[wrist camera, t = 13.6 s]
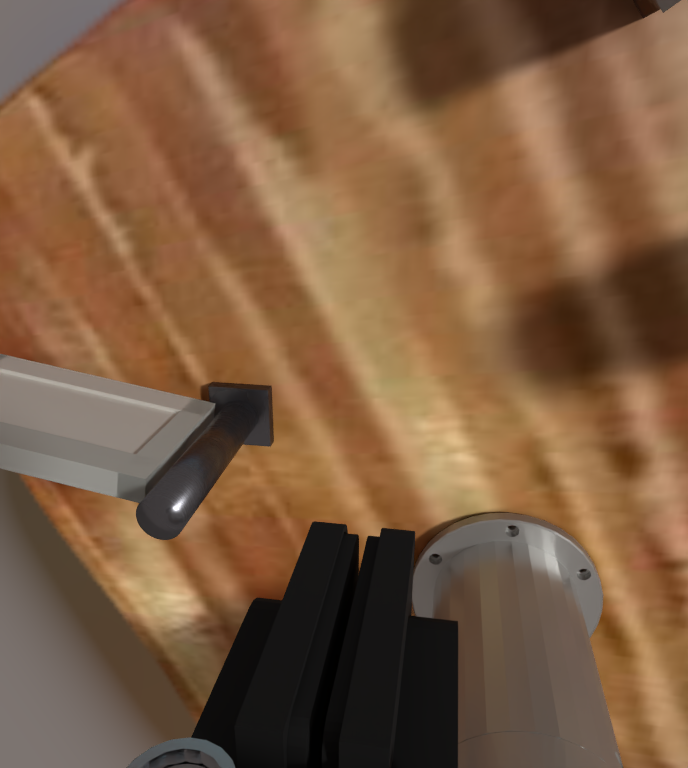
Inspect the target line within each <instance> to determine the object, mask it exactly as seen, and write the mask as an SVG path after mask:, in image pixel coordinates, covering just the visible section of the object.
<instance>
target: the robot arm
mask: <svg viewBox="0 0 688 768" xmlns="http://www.w3.org/2000/svg"><path fill="white" fill-rule="evenodd" d="M511 525H514V526H511ZM414 549H415V531H407V530H397V529H387V528H382V529H381V533H380V537H376V536H368V538H367V541H366V546H365V550H364V555H363V559H362V563H361V568H360V572H359V536H358V535H356V534H348V533H347V526H346V525H345V524H335V523H325V522H315V521H314V522H313V523H312V525H311V527H310V530H309V532H308V535H307V537H306V540H305V543H304V545H303V548H302V551H301V553H300V556H299V558H298V561H297V564H296V566H295V569H294V571H293V574H292V577H291V579H290V582H289V584H288V587H287V590H286V592H285V595H284V598H283V600H273V599H265V598H256V599H254V600H253V602H252V604H251V605H250V607H249V609H248V612H247V614H246V616H245V618H244V621H243V623H242V625H241V627H240V630H239V632H238V634H237V636H236V638H235V641H234V643H233V645H232V647H231V650H230V652H229V654H228V656H227V659H226V661H225V663H224V665H223V668H222V670H221V672H220V674H219V676H218V679H217V681H216V683H215V685H214V688H213V690H212V692H211V694H210V697H209V699H208V701H207V703H206V706H205V708H204V710H203V712H202V714H201V717H200V719H199V721H198V723H197V726H196V728H195V730H194V733H193V735H192V737H191V738H182V739H174V740H169V741H166V742H164V743H161V744H159V745H156V746H154V747H151V748H150V749H148V750H147V751H145V752H144V753H143V754H141V755H140V756H138V757H137V758H135V759H134V760H133V761H132V762H131V764H130V765H129V766H128V767H127V768H623V765H622V761H621V757H620V753H619V749H618V746H617V742H616V738H615V734H614V730H613V727H612V723H611V719H610V715H609V711H608V707H607V704H606V700H605V696H604V692H603V688H602V684H601V681H600V677H599V673H598V669H597V665H596V662H595V658H594V654H593V650H592V646H591V642H590V639H589V638H590V637H591V635H592V634H593V632H594V630H595V629H596V627H597V625H598V623H599V619H600V616H601V613H602V606H603V593H602V587H601V582H600V578H599V576H598V573H597V570H596V567H595V565H594V563H593V561H592V560H591V558H590V556H589V555H588V553H587V551H586V550H585V549H584V548H583V547H582V546H581V545H580V544H579V543H578V542H577V540H576V539H574V538H573V537H572V536H570V535H569V534H568V533H566V532H565V531H564V530H562V529H561V528H559V527H557V526H555V525H553V524H551V523H549V522H547V521H545V520H541V519H538V518H535V517H531V516H528V515H522V514H514V513H488V514H483V515H477V516H472V517H469V518H466V519H464V520H461V521H459V522H456V523H454V524H452V525H450V526H449V527H447V528H446V529H444V530H442V531H441V532H439V533H438V534H437V535H436V536H435V537H434V538H433V539H432V540H431V541H429V542H428V544H427V545H426V547H425V548H424V549H423V551H422V552H421V554H420V555H419V558H418V560H417V562H416V565H415V567H414ZM413 569H414V572H413ZM358 574H359V576H358ZM412 604H413V610H414V613H415V615H416V616H411V609H412Z"/></svg>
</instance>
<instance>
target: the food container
mask: <svg viewBox="0 0 688 768" xmlns="http://www.w3.org/2000/svg"><path fill="white" fill-rule="evenodd" d="M633 1H634V3H635V5H636V7H637V8H638V10H639V12H640V13H641V15H642V17H643V18H645V17H647V16H648V15H650V14H652V13H654V12H656V11H658V10H660V9H661V10H662V12H663V13H664V12H665V11H666V10H668V9H669V8H671V7H672V6H674V5H675V4H676V3H678V2H679V1H681V0H633Z"/></svg>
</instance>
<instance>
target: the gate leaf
mask: <svg viewBox="0 0 688 768" xmlns="http://www.w3.org/2000/svg"><path fill="white" fill-rule="evenodd" d="M214 412H215V403H211V402H207V401H203V400H198V399H194V398H190V397H185V396H181V395H177V394H172V393H168V392H164V391H159V390H155V389H151V388H146V387H142V386H138V385H133V384H129V383H125V382H120V381H116V380H112V379H107V378H103V377H99V376H94V375H90V374H86V373H81V372H77V371H73V370H68V369H64V368H60V367H55V366H51V365H47V364H42V363H38V362H34V361H29V360H25V359H21V358H16V357H12V356H8V355H3V354H0V468H1V469H5V470H9V471H13V472H17V473H21V474H25V475H29V476H33V477H37V478H41V479H45V480H49V481H53V482H57V483H61V484H65V485H69V486H73V487H77V488H81V489H85V490H90V491H94V492H98V493H102V494H106V495H110V496H114V497H118V498H122V499H126V500H130V501H134V502H138V503H140V502H141V501H142V500H143V499H144V498H145V497H146V495H147V494H148V493H149V492H150V491H151V490H152V489H153V487H154V486H155V485H156V484H157V483H158V482H159V481H160V479H161V478H162V477H163V476H164V475H165V474H166V473H167V471H168V470H169V469H170V468H171V467H172V466H173V465H174V463H175V462H176V461H177V460H178V459H179V458H180V457H181V455H182V454H183V453H184V452H185V451H186V450H187V449H188V447H189V446H190V445H191V444H192V443H193V442H194V441H195V439H196V438H197V437H198V436H199V435H200V434H201V433H202V431H203V430H204V429H205V428H206V427H207V426H208V425H209V423H210V422H211V421H212V420H213V419H214Z"/></svg>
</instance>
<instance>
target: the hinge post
mask: <svg viewBox="0 0 688 768" xmlns="http://www.w3.org/2000/svg"><path fill="white" fill-rule="evenodd" d="M208 387H209V400H210V402H211V403H215V412H214V419H213V420H212V421H211V422H210V423H209V425H208V426H207V427H206V428H205V429H204V430H203V431H202V433H201V434H200V435H199V436H198V437H197V438H196V439H195V441H194V442H193V443H192V444H191V445H190V446H189V447H188V449H187V450H186V451H185V452H184V453H183V454H182V455H181V457H180V458H179V459H178V460H177V461H176V462H175V463H174V465H173V466H172V467H171V468H170V469H169V470H168V471H167V473H166V474H165V475H164V476H163V477H162V478H161V479H160V481H159V482H158V483H157V484H156V485H155V486H154V487H153V489H152V490H151V491H150V492H149V493H148V494H147V495H146V497H145V498H144V499H143V500H142V501H141V502H140V503H139V505H138V507H137V510H136V518H137V521H138V523H139V525H140V527H141V528H142V529H143V530H144V531H145V532H146V533H147V534H148V535H150V536H152V537H154V538H156V539H161V540H169V539H172V538H175V537H176V536H178V535H179V534H180V532H181V531H182V529H183V528H184V527H185V525H186V524H187V522H188V521H189V520H190V518H191V517H192V515H193V514H194V513H195V511H196V510H197V508H198V507H199V505H200V504H201V503H202V501H203V500H204V498H205V497H206V496H207V494H208V493H209V491H210V490H211V488H212V487H213V486H214V484H215V483H216V481H217V480H218V479H219V477H220V476H221V474H222V473H223V471H224V470H225V469H226V467H227V466H228V464H229V463H230V462H231V460H232V459H233V457H234V456H235V455H236V453H237V452H238V450H239V449H240V447H241V446H242V445H243V444H245V445H258V446H271V445H272V443H273V442H274V436H273V412H272V387H271V386H265V385H250V384H234V383H219V382H212V383H211V384H210V385H209V386H208Z"/></svg>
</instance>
